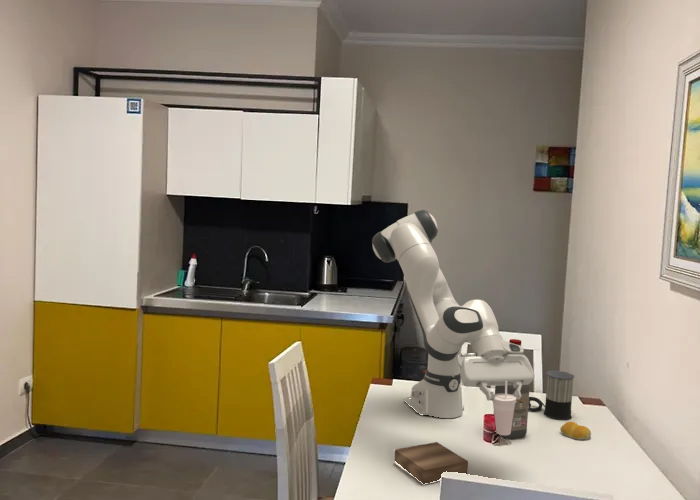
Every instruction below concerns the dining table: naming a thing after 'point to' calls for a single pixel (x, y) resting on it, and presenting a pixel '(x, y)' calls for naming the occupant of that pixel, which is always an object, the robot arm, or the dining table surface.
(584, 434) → the bread roll
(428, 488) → the dining table surface
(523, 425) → the liquor
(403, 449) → the plinth
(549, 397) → the milk frother
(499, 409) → the smoothie
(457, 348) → the robot arm
